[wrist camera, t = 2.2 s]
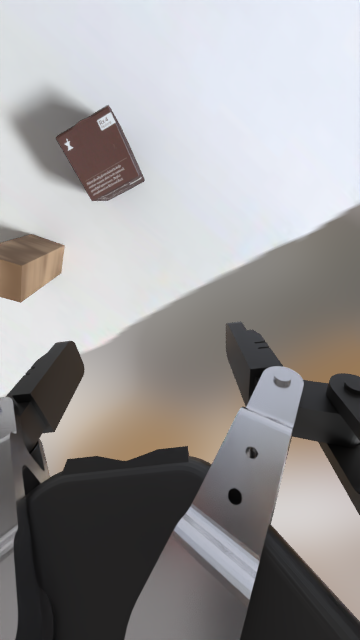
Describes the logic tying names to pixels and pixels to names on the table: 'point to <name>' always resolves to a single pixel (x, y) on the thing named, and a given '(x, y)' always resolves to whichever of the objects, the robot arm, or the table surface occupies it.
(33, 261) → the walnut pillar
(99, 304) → the table surface
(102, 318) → the table surface
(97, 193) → the box
